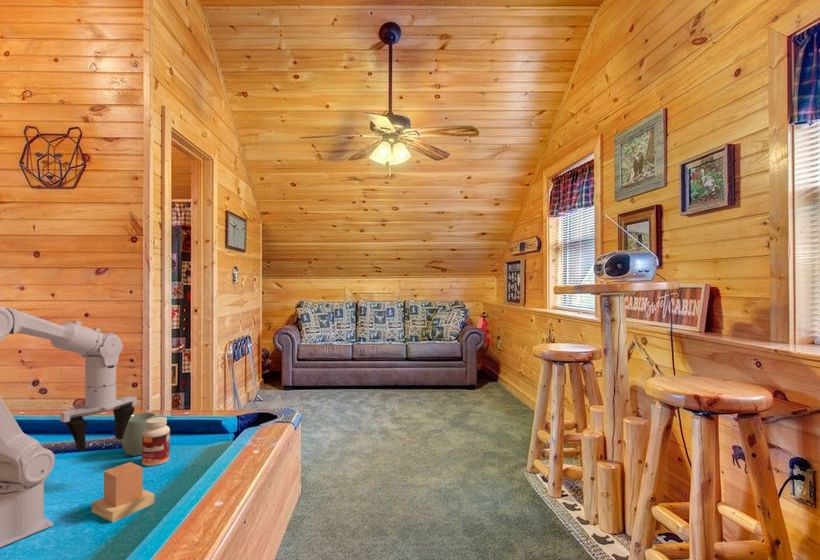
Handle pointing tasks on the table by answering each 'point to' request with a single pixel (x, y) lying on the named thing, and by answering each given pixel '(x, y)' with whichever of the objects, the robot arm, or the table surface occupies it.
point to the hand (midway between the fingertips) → (100, 444)
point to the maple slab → (122, 507)
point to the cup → (135, 433)
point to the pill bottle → (155, 442)
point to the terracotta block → (123, 483)
